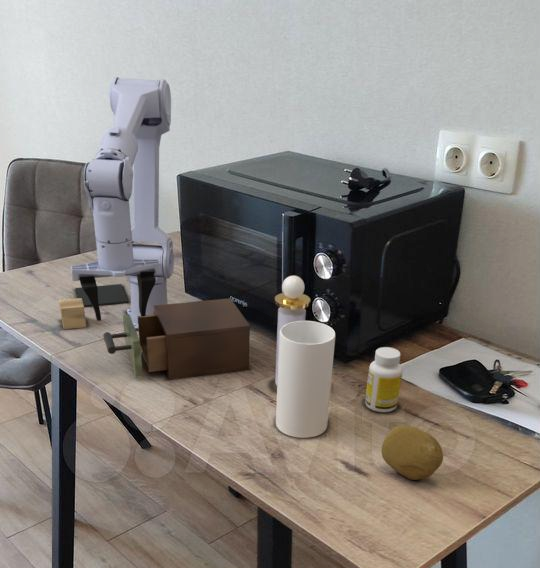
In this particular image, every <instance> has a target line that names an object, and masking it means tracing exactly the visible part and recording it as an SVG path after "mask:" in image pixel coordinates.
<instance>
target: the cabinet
mask: <svg viewBox="0 0 540 568" xmlns="http://www.w3.org/2000/svg"><path fill="white" fill-rule="evenodd" d="M153 309H154V314H156V316H157V318H158V320H159V322H160V324H161V326H162V328H163V331H164V333H165V335H166V339H167V358H168V370H165V372H166V375H167V377H168V379H169V380H173V379H182V378H190V377H197V376H199V377H200V376H207V375H215V374H221V373H228V372H229V373H230V372H237V371H244V370H245V371H246V370H249V369H250V342H251V341H250V339H251V338H250V337H251V325H250V324H249V322H248V321H247V320H246V318H245V317H244V315H243V314H242V312H241V311H240V310H239V308H238V307H237V305H236V304H235V303H234V301H233V300H232V298H231V297H228V298H219V299H207V300H198V301H189V302H188V301H187V302H178V303H177V302H175V303H168V304H166V305H155V306H153Z"/></svg>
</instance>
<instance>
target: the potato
mask: <svg viewBox="0 0 540 568" xmlns="http://www.w3.org/2000/svg"><path fill="white" fill-rule="evenodd" d="M381 457H382V459H383V460H384V462H385V463H386V464H387V465H388V466H389V467H390V468H392V469H393V470H394V471H396V472H397V473H399V474H400V475H402V476H403V477H405V478H406V479H408V480H411V481H412V480H414V481H416V480H423V479H427V478H429V477H431V476H432V475H433V474H434V473H435V472H436V471H437V470H438V469H439V468H440V467H441V465H442V464H443V461H444V453H443V449H442V446H441V445H440V442H439V441H438V440H437V439H436V438H435V437H434V436H432V434H429V433H428V432H426V431H424V430H422V429H419V428H417V427H413V426H409V425H408V426H407V425H397V426H395V427H393V428H392V429H391V430H390V431H389V432H388V434H387V435H386V436H385V438H384V439H383V442H382V445H381Z"/></svg>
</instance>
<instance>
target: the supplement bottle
mask: <svg viewBox="0 0 540 568" xmlns="http://www.w3.org/2000/svg"><path fill="white" fill-rule="evenodd" d="M400 361H401V352H400V351H399V349H396V348H394V347H389V346H383V347H382V346H381V347H378V348H377V349H376V350H375V354H374V360H373V361H371V363H370V364H369V367H368V374H367V383H366V389H365V398H364V402H365V406H366V407H367V408H368V409H370V410H372V411H374V412H377V413H390V412H392V411H394V410H396V408H397V407H398V403H399V396H400V390H401V384H402V377H403V366H402V365H401V364H400Z"/></svg>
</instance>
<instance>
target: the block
mask: <svg viewBox="0 0 540 568" xmlns="http://www.w3.org/2000/svg"><path fill="white" fill-rule="evenodd" d="M58 303H59V310H60V317H61V323H62V328H63V330H70V329H71V330H72V329H80V328H81V329H82V328H87V321H86V312H85V307H84V305H83V301H82V298H78V297H77V298H67V299H59V300H58Z"/></svg>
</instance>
